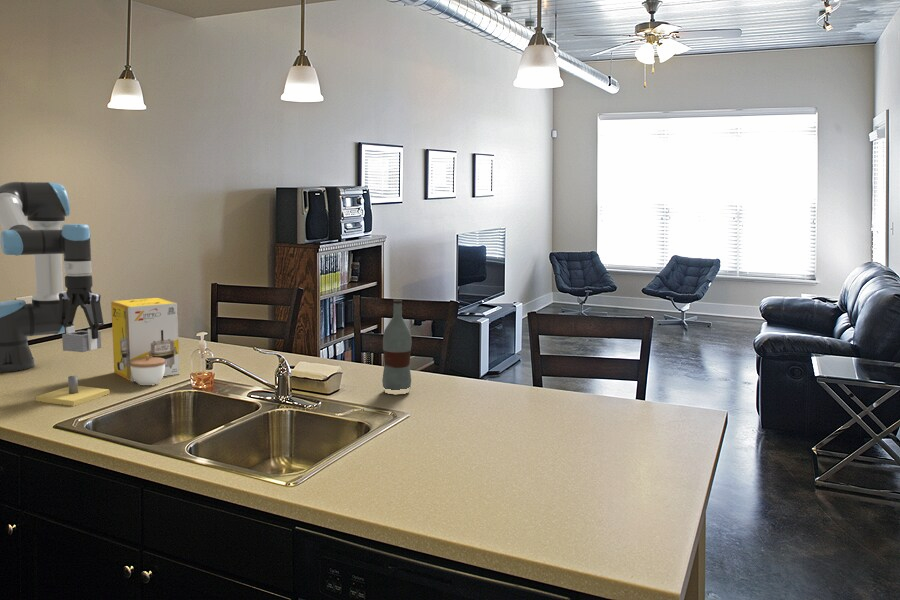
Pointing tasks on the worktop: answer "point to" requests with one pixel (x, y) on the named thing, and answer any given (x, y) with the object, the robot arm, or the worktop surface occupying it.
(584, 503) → the worktop surface
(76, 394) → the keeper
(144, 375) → the lidded jar
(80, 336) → the grey square hollow block
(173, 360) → the packaging box
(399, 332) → the bottle
